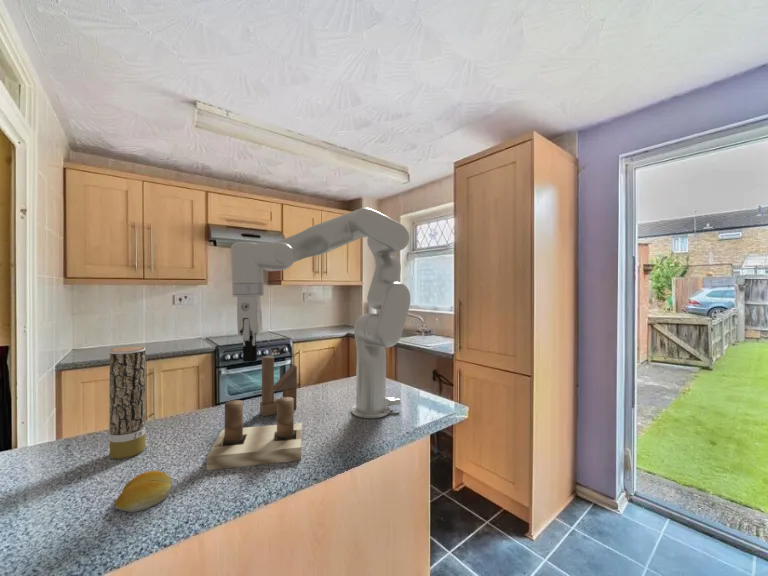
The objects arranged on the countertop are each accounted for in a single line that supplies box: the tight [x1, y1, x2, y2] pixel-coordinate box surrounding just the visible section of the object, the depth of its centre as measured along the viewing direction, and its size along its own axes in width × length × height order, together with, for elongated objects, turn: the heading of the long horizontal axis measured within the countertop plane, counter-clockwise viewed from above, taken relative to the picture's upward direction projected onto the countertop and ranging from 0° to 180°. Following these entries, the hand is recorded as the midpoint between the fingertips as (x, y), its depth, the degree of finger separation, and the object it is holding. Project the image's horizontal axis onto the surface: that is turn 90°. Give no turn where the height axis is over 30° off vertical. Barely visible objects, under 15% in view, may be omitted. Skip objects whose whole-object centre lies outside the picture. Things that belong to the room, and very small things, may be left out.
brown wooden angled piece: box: [259, 355, 298, 417], centre depth 107 cm, size 4×11×18 cm, turn 126°
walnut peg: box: [224, 399, 244, 446], centre depth 80 cm, size 4×4×12 cm
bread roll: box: [115, 470, 173, 513], centre depth 63 cm, size 8×9×4 cm
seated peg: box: [276, 396, 295, 441], centre depth 83 cm, size 4×4×12 cm
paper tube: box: [108, 346, 147, 460], centre depth 80 cm, size 7×7×25 cm
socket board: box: [206, 422, 303, 471], centre depth 82 cm, size 20×14×3 cm
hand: (250, 360), depth 86 cm, fingers closed
